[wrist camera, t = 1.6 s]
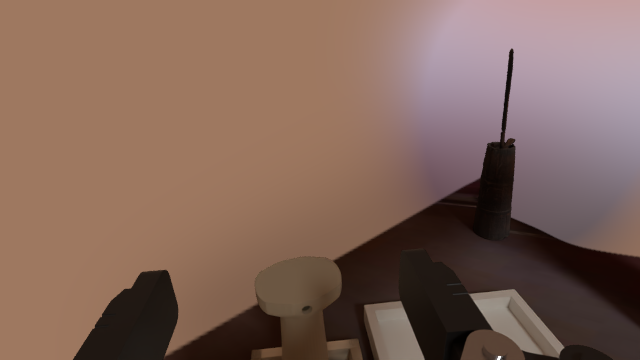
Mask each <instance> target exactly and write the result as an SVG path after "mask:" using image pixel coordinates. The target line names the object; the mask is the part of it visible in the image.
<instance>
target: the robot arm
mask: <svg viewBox="0 0 640 360" xmlns="http://www.w3.org/2000/svg"><path fill="white" fill-rule="evenodd" d="M399 294H400V299H401V303H402V305H403V308H404V310H405V313H406V315H407V317H408V320H409V322H410V325H411V327H412V330H413V332H414V335H415V337H416V339H417V342H418V344H419V347H420V349H421V352H422V354H423V356H424V359H425V360H613V359H612V358H610V357H609V356H607V355H605V354H604V353H602V352H600V351H598V350H596V349H593V348H590V347H587V346H582V345H569V346H567V347H565V348H563V349H562V350H561V352H560V355H559V358H557V357H552V356H546V355H541V354H535V353H530V352H526V351H523V350H521V349H520V347H519V346H518V345H517V344H516V343H515V342H514V341H513V340H511V339H510V338H509V337H507V336H505V335H503V334H501V333H499V332H496V331H494V330H493V329H492V327H491V326H490V324H489V323H488V321H487V320H486V319H485V317H484V316H483V314H482V313H481V311H480V310H479V308H478V307H477V305H476V304H475V302H474V301H473V299H472V298H471V296H470V295H469V294H468V292H467V290H466V289H465V287H464V286H463V285H462V284H461V281H460V280H459V278H458V277H457V276H456V274H455V273H454V271H453V270H451V269H450V268H449V267H447V266H446V265H445V264H443V263H442V262H434V263H433V262H432V260H431V258H430V257H429V255H428V253H427V252H426V250H425V249H412V250H403V251H402V252H401V258H400V273H399ZM177 319H178V304H177V300H176V297H175V293H174V290H173V286H172V283H171V279H170V275H169V273H168V271H167V270H159V271H148V272H142V273H140V275H139V276H138V278H137V280H136V281H135V283H134V285H133V286H132V288H131V289H124V290H123V291H122V292H121V293H120V294H118V295H117V296H116V297H115V298H114V299H113V300H112V301H111V302H110V303H109V305H108V306H107V308H106V309H105V311H104V312H103V314H102V317H100V319H99V320H98V322H97V323H96V325H95V328H94V329H92V331H91V332H90V334H89V336H88V337H87V339H86V340H85V342H84V343H83V345H82V346H81V348H80V350H79V351H78V353H77V354H76V356H75V357H74V359H73V360H163V358H164V356H165V353H166V350H167V348H168V345H169V342H170V340H171V337H172V334H173V332H174V329H175V326H176V324H177Z"/></svg>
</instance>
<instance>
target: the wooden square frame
mask: <svg viewBox="0 0 640 360" xmlns="http://www.w3.org/2000/svg"><path fill="white" fill-rule="evenodd" d="M327 349H328V356H329V360H363V358H362V354H361V350H360V345H359V341H358V339H350V340H341V341H332V342H327ZM251 360H282V347H278V348H269V349H260V350H252V355H251Z"/></svg>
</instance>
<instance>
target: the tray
mask: <svg viewBox="0 0 640 360" xmlns="http://www.w3.org/2000/svg"><path fill="white" fill-rule="evenodd" d="M469 295H470V296H471V298H472V299H473V301H474V302H475V304H476V305H477V307H478V308H479V310H480V311H481V313H482V314H483V316H484V317H485V319H486V320H487V321H488V323H489V324H490V326H491V327H492V329H493V330H494V331H496V332H499V333H501V334H503V335H505V336H507V337H509V338H510V339H511V340H513V341H514V342H515V343H516V344H517V345H518V346H519V347H520V349H521V350H523V351H526V352H530V353H535V354H541V355H546V356H552V357H557V358H559V355H560V352H561V350H562V349H563V348H564V347H563V345H562V344H561V343H560V342H559V341H558V340H557V338H556V337H555V336H554V335H553V334H552V333H551V331H550V330H549V329H548V328H547V327H546V326H545V324H544V323H543V322H542V321H541V320H540V319H539V317H538V316H537V315H536V314H535V313H534V312H533V311H532V309H531V308H530V307H529V306H528V305H527V304H526V302H525V301H524V300H523V299H522V298H521V297H520V295H519V294H518V293H517V292H516V291H515V290H514V289H513V290H503V291H494V292H484V293H475V294H469ZM364 323H365V327H366V331H367V334H368V338H369V342H370V346H371V350H372V353H373V357H374V360H425V359H424V356H423V354H422V352H421V349H420V347H419V344H418V342H417V339H416V337H415V335H414V332H413V330H412V327H411V325H410V322H409V320H408V317H407V315H406V313H405V310H404V308H403V305H402V303H401V301H398V302H388V303H379V304H369V305H364Z"/></svg>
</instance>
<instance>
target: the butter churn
mask: <svg viewBox="0 0 640 360" xmlns="http://www.w3.org/2000/svg"><path fill="white" fill-rule="evenodd" d="M513 53H514V52H513V49H511V50H510V52H509V61H508V72H507V81H506V90H505V102H504V111H503V119H502V132H501V139H500V142H492V143H488V144H487V145H488V146H487V149H486V153H485V154H486V155H485V158H484V162H483V170H482V175H481V180H480V190H479V197H478V203H477V209H476V214H475V220H474V226H473V230H474V232H475V233H476V234H477V235H480V236H481V237H483V238H486V239H491V240H501V239H503V238H504V237H505V236H506V237H507V236H508V235H509V231H510V218H511V202H512V191H513V181H514V167H515V166H514V165H515V146H514V144H513V143H514V142H515V139H512V138H510V139H508V140H507V142H506V143H505V142H504V138H505V129H506V121H507V112H508V101H509V94H510V87H511V77H512V70H513Z"/></svg>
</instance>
